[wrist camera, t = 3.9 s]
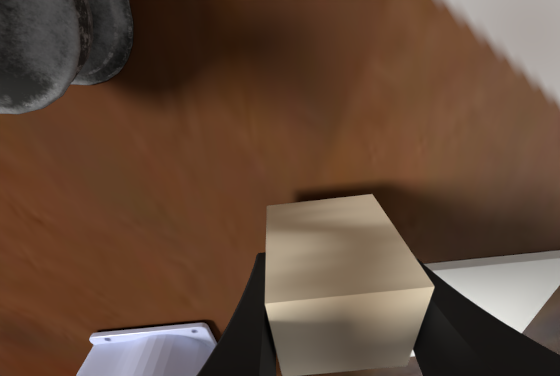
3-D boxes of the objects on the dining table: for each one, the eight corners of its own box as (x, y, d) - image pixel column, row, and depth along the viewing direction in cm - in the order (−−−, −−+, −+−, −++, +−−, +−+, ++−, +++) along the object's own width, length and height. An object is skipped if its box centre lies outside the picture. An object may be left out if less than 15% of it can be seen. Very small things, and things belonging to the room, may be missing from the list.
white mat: (354, 354, 23) (356, 361, 22) (362, 270, 16) (365, 277, 16) (504, 340, 22) (510, 347, 22) (572, 249, 16) (582, 255, 16)
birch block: (278, 275, 14) (282, 377, 10) (266, 205, 11) (264, 303, 7) (364, 266, 14) (406, 366, 10) (372, 194, 11) (435, 286, 7)
